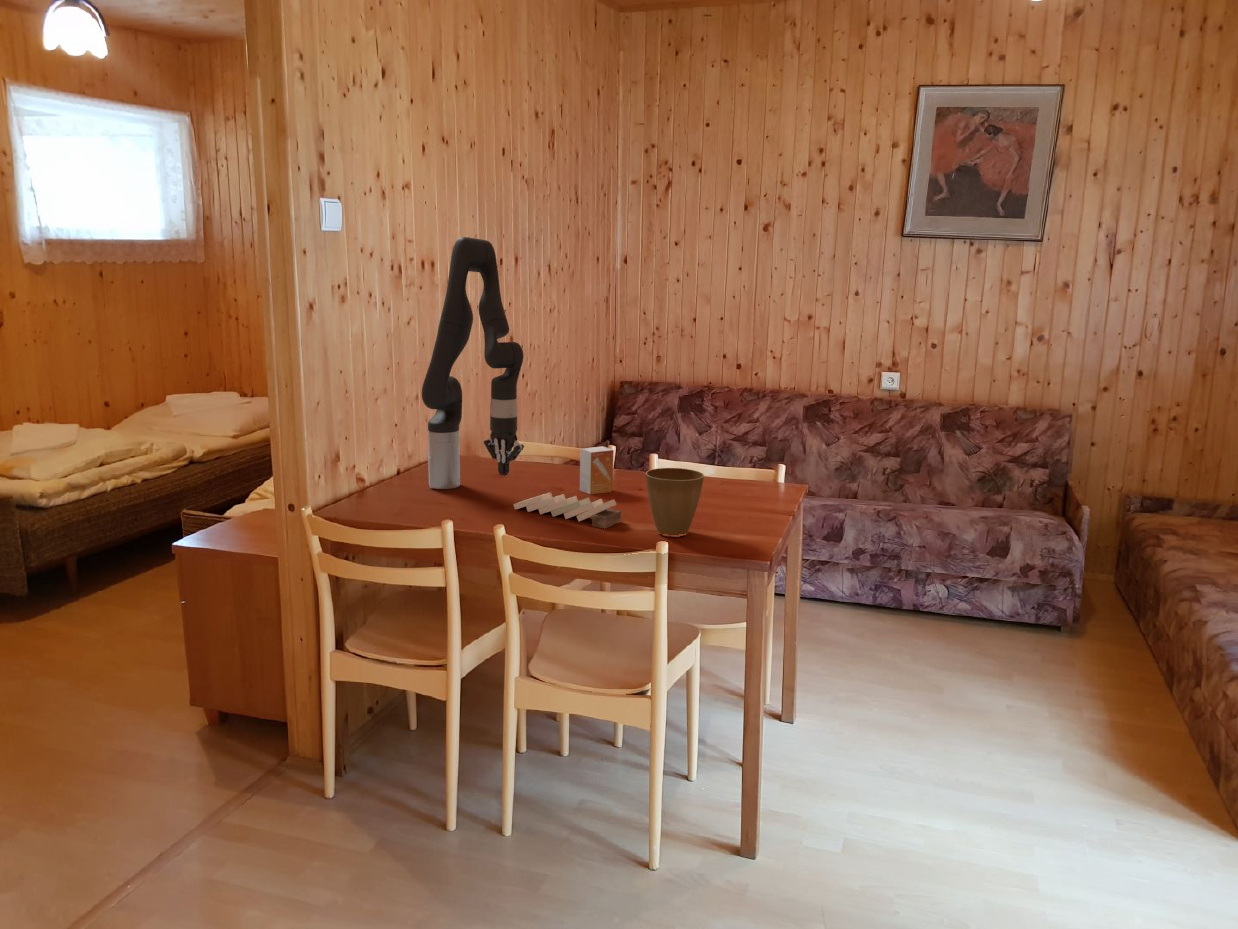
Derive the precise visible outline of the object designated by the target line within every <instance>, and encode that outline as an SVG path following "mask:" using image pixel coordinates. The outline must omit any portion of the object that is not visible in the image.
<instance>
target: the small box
mask: <svg viewBox="0 0 1238 929" xmlns="http://www.w3.org/2000/svg"><path fill="white" fill-rule="evenodd" d="M579 452H580V453H579V456H580V457H579V458H580V459H579V460H580V461H579V462H580V463H579V491H581V492H583V493H585V494H588V495H591V496H592V495H597V494H604V493H605V494H606V493H612V492H613V486H614V485H613V482H614V479H613V478H614V449H612V448H609V447H606V446H595V447H594V446H593V447H586V448H580V451H579ZM611 491H612V492H611Z"/></svg>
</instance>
